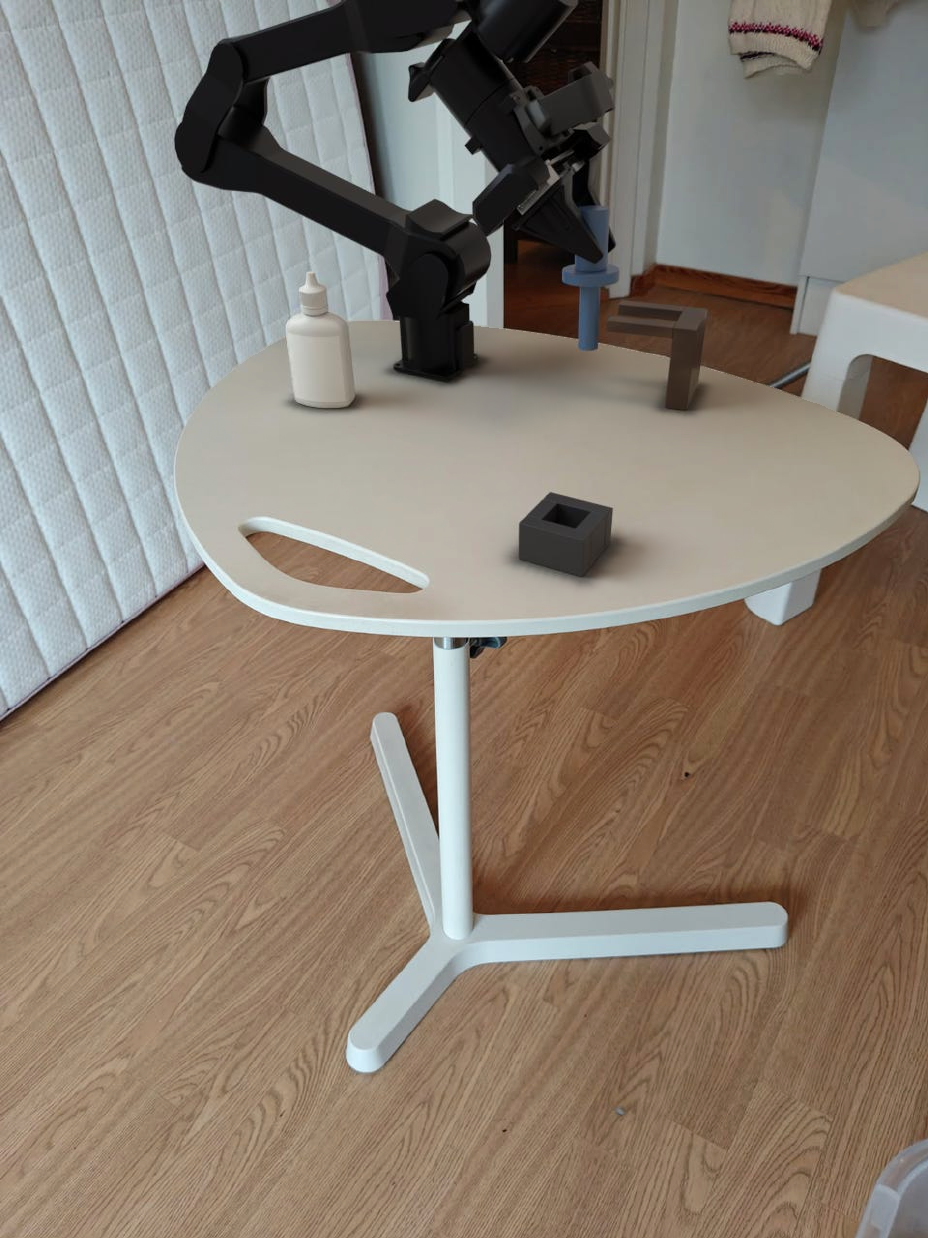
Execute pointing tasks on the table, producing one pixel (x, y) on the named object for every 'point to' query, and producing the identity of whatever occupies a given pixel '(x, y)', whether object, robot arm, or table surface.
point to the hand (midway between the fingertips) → (606, 254)
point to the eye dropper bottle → (319, 351)
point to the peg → (591, 277)
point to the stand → (684, 342)
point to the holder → (565, 533)
